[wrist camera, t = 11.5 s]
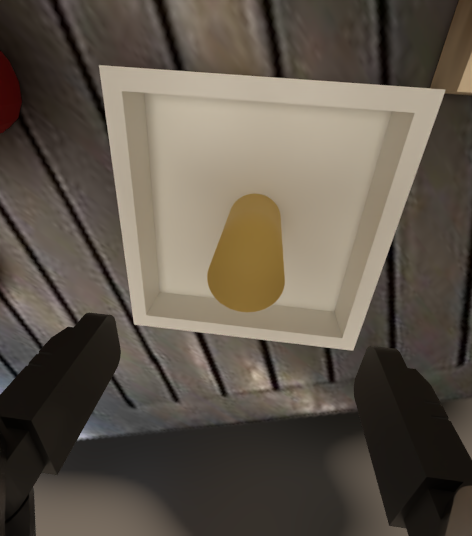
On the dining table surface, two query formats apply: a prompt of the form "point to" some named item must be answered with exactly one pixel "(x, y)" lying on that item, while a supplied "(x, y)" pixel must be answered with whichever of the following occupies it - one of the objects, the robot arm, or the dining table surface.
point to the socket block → (456, 54)
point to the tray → (261, 191)
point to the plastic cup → (8, 94)
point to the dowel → (249, 256)
